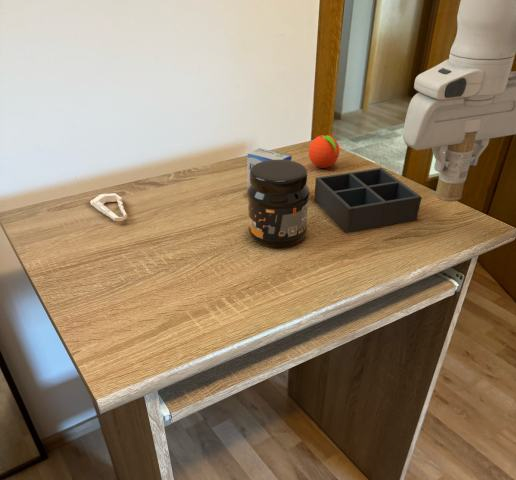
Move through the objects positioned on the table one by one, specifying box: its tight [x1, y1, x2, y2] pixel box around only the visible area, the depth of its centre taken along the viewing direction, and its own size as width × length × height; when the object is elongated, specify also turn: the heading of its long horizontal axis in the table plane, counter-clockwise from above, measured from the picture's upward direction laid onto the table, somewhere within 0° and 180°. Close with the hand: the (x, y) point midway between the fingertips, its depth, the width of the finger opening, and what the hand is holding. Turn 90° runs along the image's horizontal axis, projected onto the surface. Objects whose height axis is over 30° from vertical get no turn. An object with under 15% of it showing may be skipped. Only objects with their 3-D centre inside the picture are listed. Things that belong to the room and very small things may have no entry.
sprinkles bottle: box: [434, 118, 481, 203], centre depth 80 cm, size 5×5×13 cm
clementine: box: [308, 134, 340, 169], centre depth 109 cm, size 8×7×7 cm
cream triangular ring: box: [89, 192, 128, 222], centre depth 96 cm, size 13×5×2 cm, turn 38°
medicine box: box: [246, 147, 292, 188], centre depth 98 cm, size 8×4×9 cm, turn 55°
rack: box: [313, 167, 422, 233], centre depth 94 cm, size 15×15×5 cm
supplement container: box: [246, 160, 310, 248], centre depth 84 cm, size 10×10×12 cm
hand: (454, 168), depth 81 cm, fingers closed on sprinkles bottle, 4 cm apart
